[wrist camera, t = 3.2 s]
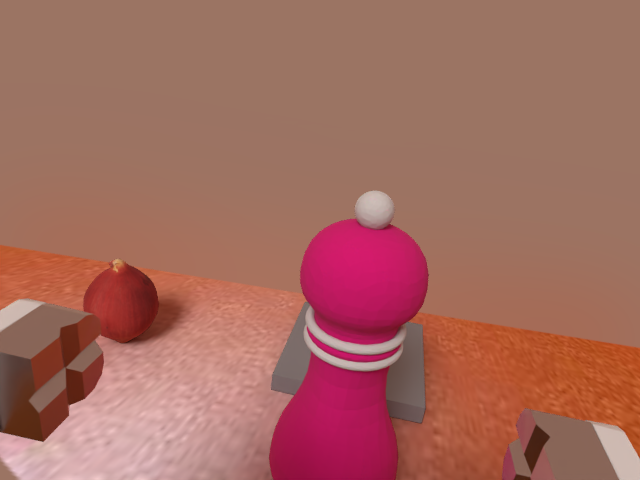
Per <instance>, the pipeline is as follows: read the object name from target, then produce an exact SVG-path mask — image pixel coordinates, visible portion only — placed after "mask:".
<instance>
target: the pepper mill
mask: <svg viewBox="0 0 640 480" xmlns="http://www.w3.org/2000/svg"><path fill="white" fill-rule="evenodd" d="M394 213H395V209H394V204H393V202H392V200H391V199H390V198H389V196H388V195H386V194H385V193H383V192H380V191H370V192H367V193H365V194H364V195H362V196H361V197H360V198H359V199H358V201H357V203H356V206H355V216H356V219H348V220H344V221H339V222H337V223H334V224H331V225H330V226H328V227H326V228H324V229H323V230H322V231H320V232H319V233H318V234H317V235H316V236H315V237H314V238H313V239H312V241H311V242H310V244H309V246H308V248H307V250H306V251H305V254H304V257H303V261H302V266H301V271H300V283H301V287H302V291H303V294H304V296H305V298H306V300H307V301H308V303H309V304H310V306H309V308H308V310H307V312H306V316H305V320H306V325H305V327H304V340H305V342H306V344H307V346H308V348H309V349H310V350H311V357H310V361H309V366H308V371H307V373H306V375H305V378H304V380H303V382H302V384H301V386H300V387H299V389H298V391H297V392H296V394H295V395H294V397H293V398H292V399H291V401H290V402H289V404H288V405H287V406H286V408H285V409H284V411H283V412H282V414H281V417H280V419H279V421H278V423H277V425H276V428H275V431H274V434H273V438H272V443H271V447H270V455H269V460H270V468H271V473H272V477H273V480H395V478H396V471H397V463H398V450H397V441H396V435H395V432H394V428H393V425H392V422H391V419H390V416H389V413H388V409H387V403H386V382H387V374H388V371H389V367H390V365H392V364H393V363H394V362H396V361H397V360H398V359H399V357H400V356H401V354H402V352H403V341H404V339H405V337H406V332H407V331H406V324H405V323H406V322H408V321H409V320H411V319H412V318H413V317H414V316H415V315H416V314H417V312H418V311H419V309H420V308H421V307H422V305H423V303H424V299H425V296H426V293H427V287H428V276H429V275H428V268H427V262H426V259H425V257H424V255H423V253H422V251H421V249H420V247H419V246H418V244H416V242H415V241H414V240H413V239H412V238H411V237H410V236H409V235H408V234H407V233H405V232H404V231H402V230H400V229H399V228H397V227H395V226H393V225H391V224H390V222H391V221H392V219H393V217H394Z"/></svg>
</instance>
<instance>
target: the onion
mask: <svg viewBox="0 0 640 480" xmlns="http://www.w3.org/2000/svg"><path fill="white" fill-rule="evenodd" d="M109 265H110V268H109V269H107V270H105V271H104V272H102V273H101V274H99V275H98V276H97V277H96V278H95V280H94V281H93V282H92V283H91V285H90V286H89V287H88V289H87V291H86V293H85V296H84V303H83V307H84V312H87V313H91V314H94V315H96V316H97V317H98V318H99V319H100V324H101V332H102V334H101V335H102V336H104V337H107V338H110V339H113V340H115V341H117V342H120V343H125V342H128V341H130V340H131V339H133V338H135V337H137V336H139V335H140V334H142V333H143V332H145V331H146V330H147V329H148V328H149V327H150V325H151V324H152V322H153V320H154V318H155V317H156V315H157V312H158V306H159V302H158V296H157V291H156V288H155V286H154V284H153V282H152V281H151V280H150V279H149V278H148V277H147V276H146V275H145V274H144V273H142V272H141V271H139V270H138V269H136V268H134V267H132V266H130V265H128V264H127V263H126V262H124V261H123V260H121V259H115V260H112V261H111V262H109Z"/></svg>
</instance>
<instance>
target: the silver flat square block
mask: <svg viewBox="0 0 640 480" xmlns="http://www.w3.org/2000/svg"><path fill="white" fill-rule="evenodd" d="M309 306H310V304H309V303H308V302H305V303H304V305H303V307H302V310H301V312H300V314H299V316H298V319H297V321H296V323H295V325H294V328H293V330H292V332H291V334H290V336H289V339H288V341H287V343H286V345H285V348H284V350H283V352H282V354H281V356H280V359H279V361H278V363H277V365H276V368H275V370H274V372H273V374H272V384H271V390H275V391H280V392H284V393H289V394H293V395H295V394H296V392H297V391H298V389H299V387H300V386H301V384H302V382H303V380H304V378H305V375H306V373H307V371H308V366H309V361H310V357H311V350H310V349H309V348H308V346H307V344H306V342H305V340H304V327H305V325H306V320H305V316H306V312H307V310H308V308H309ZM405 324H406V331H407V332H406V337H405V339H404V341H403V352H402V354H401V356H400V357H399V359H398V360H397V361H396V362H394V363H393V364H392V365H390V367H389V371H388V374H387V382H386V403H387V409H388V413H389V416H391V417H395V418H399V419H404V420H408V421H413V422H417V423H422V420H423V416H424V412H425V381H424V354H423V326H422V325H421V324H416V323H411V322H406V323H405Z"/></svg>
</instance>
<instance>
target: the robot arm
mask: <svg viewBox="0 0 640 480" xmlns="http://www.w3.org/2000/svg"><path fill="white" fill-rule="evenodd" d="M101 334H102V332H101V324H100V319H99V318H98V317H97V316H96V315H94V314H91V313H87V312H83V311H79V310H75V309H71V308H67V307H62V306H58V305H54V304H48V303H45V302H40V301H36V300H32V299H18V300H17V301H15V302H14V303H12V304H10V305H9V306H7V307H5V308H4V309H2V310H0V432H1V433H6V434H10V435H15V436H19V437H24V438H28V439H33V440H37V441H42V442H44V441H45V440H46V439H47V438H48V436H49V435H50V434H51V433H52V432H53V431H54V430H55V429H56V428H57V427H58V426H59V425H60V424H61V423H62V422H63V421H64V420H65V419H66V418H67V417H68V416H69V405H71V404H74V403H76V402H78V401H81V400H83V399H85V398H86V397H87V396H88V395H89V394H90V393H91V392H92V390H93V389H94V388H95V386H96V384H97V382H98V380H99V378H100V376H101V374H102V369H103V364H104V358H103V351H102V350H101V348H100V347H99V345H98V344H97V343H96V340H97V338H98V337H99V336H100V335H101ZM516 427H517V431H518V435H519V439H517V440H515V441H514V442H512V443H510V444H509V445H508V448H507V452H506V455H505V458H504V464H503V473H502V478H503V480H640V458H639V457H638V455H637V453H636V452H635V450H634V448H633V446H632V445H631V443H630V441H629V439H628V438H627V436H626V434H625V433H624V431H623V430H621V429H620V428H619V427H618V426H614V425H609V424H604V423H598V422H593V421H588V420H585V421H583V420H578V419H574V418H569V417H564V416H559V415H555V414H550V413H545V412H541V411H536V410H531V409H527V408H525V409H524V410H523V412H522V413H521V414H520V416H519V419H518V421H517V424H516Z"/></svg>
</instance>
